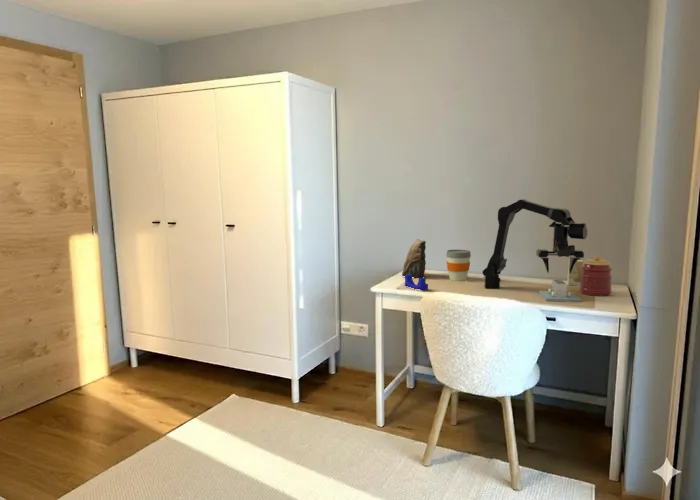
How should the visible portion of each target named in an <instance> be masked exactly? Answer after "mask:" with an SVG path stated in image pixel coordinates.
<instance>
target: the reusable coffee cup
mask: <svg viewBox="0 0 700 500" xmlns="http://www.w3.org/2000/svg"><path fill="white" fill-rule="evenodd" d="M445 256H446V267H447V269H446V270H447V272H448V278H449V280H450V281H455V282H463V281H467V280H468V273H469V271H470V267H471V266H470V265H471V261H470V260H471V256H472V255H471V251H470V250H467V249H448V250H446V254H445Z"/></svg>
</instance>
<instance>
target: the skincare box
mask: <svg viewBox="0 0 700 500" xmlns="http://www.w3.org/2000/svg"><path fill="white" fill-rule="evenodd" d="M583 262H584V260H582V259H580V260H577V261H576V263H575V264H574V266H573V269H572V271H571V273H569V263H570V259H568V269H567V280H566V284H567V286H579V287H580V282H581V275H580V274H581V273H582V268H581V266H583V265H584V263H583Z"/></svg>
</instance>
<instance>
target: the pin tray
mask: <svg viewBox="0 0 700 500" xmlns="http://www.w3.org/2000/svg"><path fill="white" fill-rule="evenodd" d="M538 294H539V295H540V296H541V298H543V299H544V300H545V301H546V302H564V301H572V302H573V303H575V302H576V303H581V302H582V299H581V298H580V297H578V295H576V294H575V293H574V292H573V291H570V290H569V291H566V297H556V296H555V292H552V288H548V290H538Z"/></svg>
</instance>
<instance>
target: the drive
mask: <svg viewBox="0 0 700 500" xmlns="http://www.w3.org/2000/svg"><path fill="white" fill-rule="evenodd" d="M567 287H568V284H567V282H566V281H564V280H563V279H552V280H551V291H552V292H555V296H556V297H566V291H567Z"/></svg>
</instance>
